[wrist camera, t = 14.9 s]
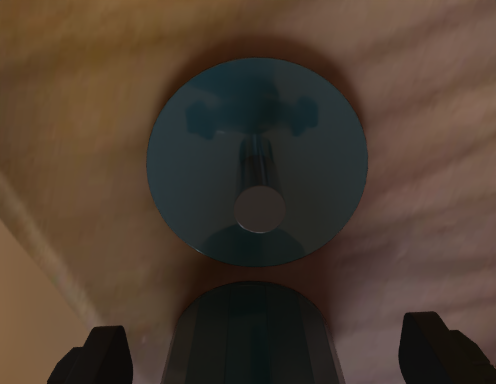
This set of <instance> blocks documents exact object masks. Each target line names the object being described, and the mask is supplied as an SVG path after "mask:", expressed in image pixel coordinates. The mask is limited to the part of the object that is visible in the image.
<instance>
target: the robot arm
mask: <svg viewBox="0 0 496 384" xmlns="http://www.w3.org/2000/svg"><path fill="white" fill-rule="evenodd" d="M398 357H399V365H400V369H401V373H402V375H403V378H404V380H405V382H406V384H496V369H495V368H494V366H493V365H491V364H490V361H489V360H488V358H487V357H486V356H485V355H484V353H483V352H482V351H481V349H480V348H479V347H478V345H477V344H476V343H474V342H473V341H472V340H470V339H469V338H468V337H466V336H465V335H464V334H463V333H461V332H460V331H459V330H449V329H448V328H447V326H446V325H445V324H444V322H443V321H442V319H441V318H440V316H439V315H438V314H437V313H436V312H433V311H430V312H409V313H406V314H405V315H404V319H403V325H402V332H401V339H400V346H399V353H398ZM132 380H133V364H132V359H131V355H130V351H129V346H128V342H127V338H126V334H125V330H124V327H123V326H100V327H94V328H93V329H92V330H91V332H90V334H89V336H88V338H87V340H86V342H85V344H84V346H83V347H73V348H72V349H71V350H70V352H68V353H67V354H66V355H65V356H64V357H63V358H62V359H61V360H60V361H59V362H58V363H57V365H56V366H55V368H54V370H53V372H52V373H51V375H50V377H49V379H48V381H47V384H132Z"/></svg>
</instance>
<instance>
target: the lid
mask: <svg viewBox="0 0 496 384" xmlns="http://www.w3.org/2000/svg"><path fill="white" fill-rule="evenodd" d="M146 168H147V177H148V183H149V187H150V191H151V194H152V197H153V200H154V202H155V205H156V207H157V209H158V210H159V212H160V214H161V216H162V218H163V219H164V220H165V222H166V223H167V224H168V226H169V227H170V228H171V229H172V230H173V231H174V233H175V234H176V235H177V236H178V237H179V238H180V239H182V240H183V241H184V242H185V243H187V244H188V245H189V246H190V247H192V248H194V249H195V250H197V251H198V252H200V253H202V254H204V255H206V256H208V257H210V258H212V259H215V260H218V261H221V262H224V263H228V264H232V265H237V266H246V267H266V266H275V265H280V264H284V263H288V262H291V261H294V260H297V259H300V258H302V257H304V256H306V255H309V254H311V253H312V252H314V251H316V250H317V249H319V248H321V247H322V246H323V245H325V244H326V243H327V242H329V241H330V240H331V239H332V238H333V237H334V236H335V235H336V234H337V233H338V232H339V231H340V230H341V229H342V228H343V227H344V226H345V224H346V223H347V222H348V221H349V219H350V218H351V216H352V214H353V213H354V211H355V209H356V208H357V206H358V203H359V201H360V199H361V196H362V194H363V190H364V187H365V183H366V177H367V171H368V152H367V144H366V139H365V135H364V132H363V128H362V126H361V123H360V121H359V119H358V117H357V114H356V113H355V111H354V110H353V108H352V106H351V105H350V103H349V102H348V100H347V99H346V98H345V97H344V96H343V95H342V93H341V92H340V91H339V90H338V89H337V88H336V87H335V86H334V85H332V84H331V83H330V82H329V81H328V80H327V79H325V78H323V77H322V76H320V75H319V74H317V73H316V72H314V71H312V70H310V69H308V68H306V67H304V66H302V65H299V64H297V63H293V62H290V61H287V60H283V59H277V58H270V57H247V58H239V59H234V60H230V61H226V62H223V63H220V64H217V65H215V66H213V67H210V68H208V69H206V70H204V71H202V72H201V73H199V74H197V75H196V76H194V77H192V78H191V79H190V80H189V81H187V82H186V83H185V84H184V85H183V86H181V87H180V88H179V89H178V90H177V91H176V92H175V93H174V95H173V96H172V97H171V98H170V99H169V100H168V102H167V103H166V104H165V106H164V107H163V109H162V110H161V112H160V114H159V116H158V118H157V120H156V122H155V124H154V126H153V129H152V132H151V135H150V138H149V144H148V149H147V163H146Z"/></svg>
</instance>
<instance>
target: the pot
mask: <svg viewBox="0 0 496 384" xmlns="http://www.w3.org/2000/svg"><path fill="white" fill-rule="evenodd" d="M160 384H346V383H345V379H344V376H343V372H342V369H341V365H340V362H339V358H338V355H337V351H336V348H335V344H334V341H333V337H332V334H331V332H330V330H329V328H328V325H327V323H326V320H325V318H324V317H323V315H322V313H321V312H320V311H319V309H318V308H317V307H316V306H315V305H314V304H313V303H312V302H311V301H310V300H308V299H307V298H306V297H304V296H303V295H301V294H300V293H298V292H296V291H294V290H292V289H290V288H287V287H284V286H281V285H278V284H273V283H268V282H260V281H246V282H236V283H231V284H227V285H223V286H220V287H217V288H215V289H213V290H211V291H208V292H206V293H205V294H203V295H202V296H200V297H198V298H197V299H196V300H195V301H193V302H192V303H191V304H190V305H189V306H188V307H187V308H186V309H185V311H184V312H183V313H182V315H181V317H180V318H179V320H178V322H177V325H176V328H175V331H174V334H173V337H172V340H171V343H170V347H169V351H168V355H167V359H166V363H165V367H164V371H163V375H162V379H161V383H160Z"/></svg>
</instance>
